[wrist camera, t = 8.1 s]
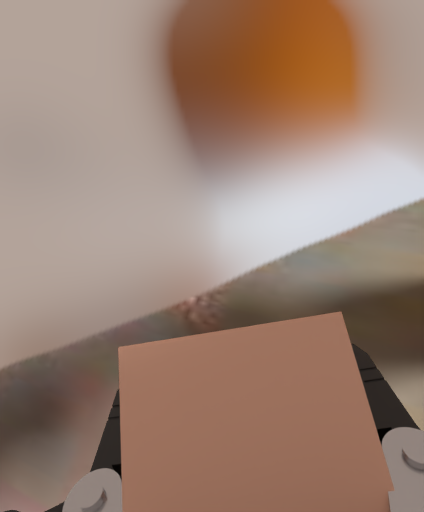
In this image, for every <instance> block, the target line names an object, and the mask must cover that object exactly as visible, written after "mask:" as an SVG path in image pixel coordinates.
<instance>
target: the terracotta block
mask: <svg viewBox="0 0 424 512" xmlns="http://www.w3.org/2000/svg"><path fill="white" fill-rule="evenodd" d="M118 354H119V393H120V432H121V472H122V511H123V512H389V500H388V491H395V490H394V486H393V483H392V480H391V476H390V473H389V469H388V466H387V463H386V459H385V456H384V453H383V449H382V446H381V443H380V439H379V436H378V433H377V429H376V426H375V422H374V419H373V416H372V412H371V409H370V406H369V402H368V399H367V396H366V392H365V389H364V386H363V382H362V379H361V376H360V372H359V369H358V365H357V362H356V359H355V355H354V352H353V349H352V345H351V342H350V339H349V335H348V332H347V329H346V325H345V322H344V319H343V315H342V312H341V311H340V312H334V313H328V314H322V315H315V316H309V317H303V318H297V319H290V320H284V321H278V322H272V323H265V324H259V325H253V326H247V327H240V328H234V329H228V330H222V331H215V332H209V333H203V334H197V335H190V336H184V337H178V338H172V339H166V340H159V341H153V342H147V343H141V344H134V345H128V346H122V347H118Z"/></svg>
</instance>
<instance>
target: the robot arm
mask: <svg viewBox="0 0 424 512" xmlns="http://www.w3.org/2000/svg"><path fill="white" fill-rule="evenodd" d="M351 345H352V349H353V352H354V355H355V359H356V362H357V365H358V369H359V372H360V376H361V379H362V382H363V386H364V389H365V392H366V396H367V399H368V402H369V406H370V409H371V412H372V416H373V419H374V422H375V426H376V429H377V433H378V436H379V439H380V443H381V446H382V449H383V453H384V456H385V459H386V463H387V466H388V469H389V473H390V476H391V480H392V483H393V486H394V490H395V491H388V500H389V512H424V431H421V430H420V429H419V427H418V426H417V425H416V424H415V422H414V421H413V419H412V418H411V416H410V415H409V413H408V412H407V411H406V409H405V408H404V406H403V405H402V403H401V402H400V400H399V399H398V398H397V396H396V395H395V393H394V392H393V390H392V389H391V387H390V386H389V385H388V383H387V382H386V381H385V380H384V377H383V376H382V374H381V373H380V372H379V370H377V368H376V366H375V364H374V363H373V361H372V360H371V359H370V357H369V356H368V354H367V353H365V352H364V351H363V350H361V349H360V348H358V347H357V346H355V345H354V344H351ZM112 406H113V408H112V409H111V411H110V414H109V417H108V419H109V420H108V421H107V423H106V426H105V429H104V432H103V435H102V438H101V441H100V444H99V447H98V450H97V453H96V456H95V459H94V462H93V465H92V468H91V471H90V473H88V474H87V475H85V476H84V477H83V478H81V479H80V480H79V481H78V482H77V483H76V484H75V485H74V487H73V488H72V489H71V491H70V492H69V494H68V496H67V498H66V500H65V501H64V502H63V503H61V504H59V505H57V506H55V507H53V508H51V509H49V510H47V511H45V512H123V511H122V472H121V432H120V393H119V390H118V391H117V393H116V396H115V399H114V402H113V405H112ZM5 512H19V511H16V510H9V511H5Z"/></svg>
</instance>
